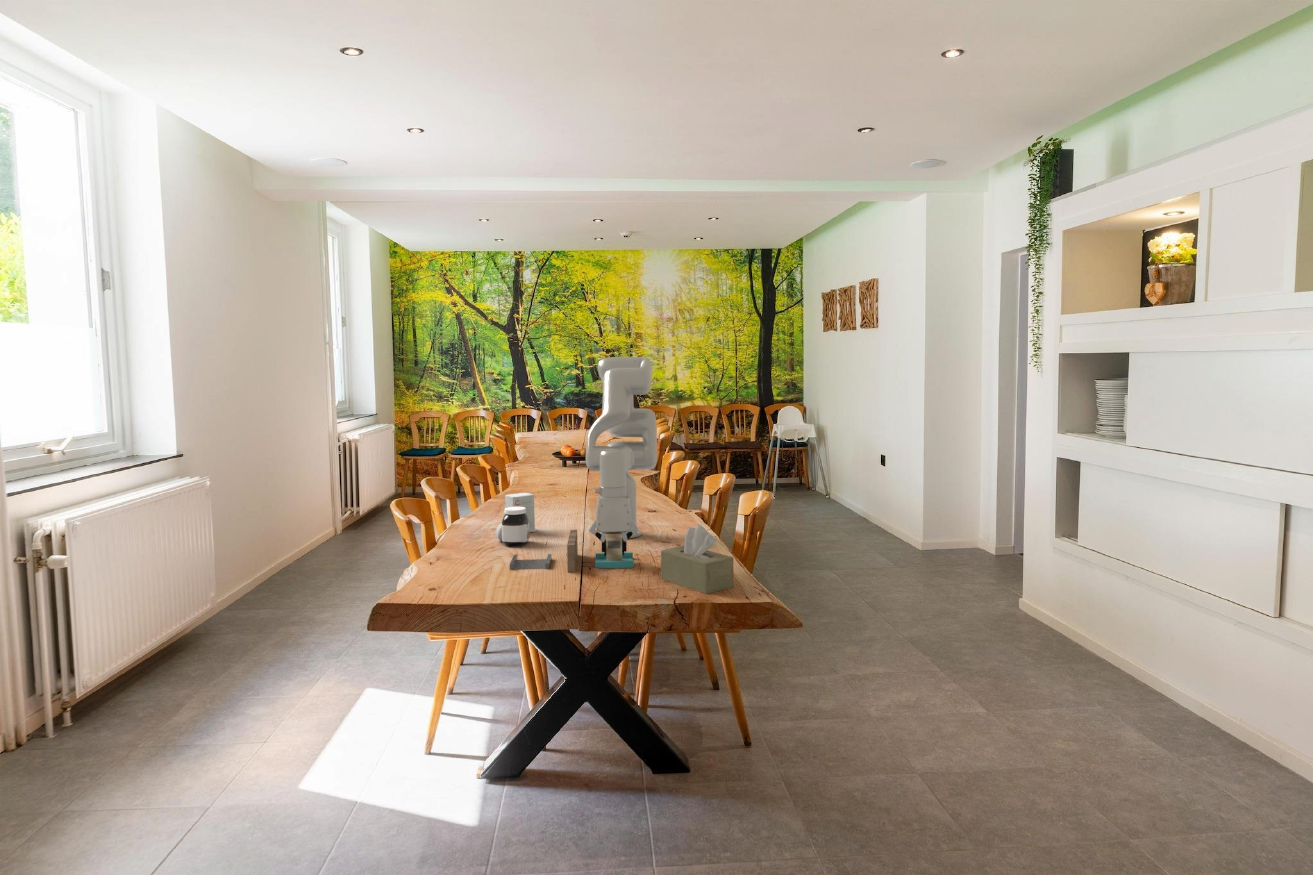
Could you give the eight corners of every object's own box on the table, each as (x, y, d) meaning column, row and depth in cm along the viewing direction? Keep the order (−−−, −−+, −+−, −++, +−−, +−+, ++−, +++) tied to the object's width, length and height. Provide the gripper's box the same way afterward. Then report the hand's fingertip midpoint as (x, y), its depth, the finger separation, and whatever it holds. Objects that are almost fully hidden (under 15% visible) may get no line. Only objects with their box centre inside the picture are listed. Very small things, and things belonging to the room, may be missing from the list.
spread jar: (522, 548, 257) (521, 511, 256) (488, 547, 259) (487, 510, 258) (534, 539, 269) (533, 504, 267) (501, 538, 270) (500, 504, 269)
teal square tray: (595, 568, 231) (594, 562, 231) (595, 558, 242) (595, 552, 242) (633, 567, 231) (633, 561, 231) (632, 558, 242) (632, 552, 242)
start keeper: (514, 560, 240) (514, 554, 240) (551, 559, 241) (551, 554, 241) (509, 570, 230) (509, 564, 229) (548, 569, 230) (548, 563, 230)
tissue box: (734, 587, 211) (734, 527, 209) (706, 594, 205) (706, 533, 203) (687, 573, 226) (687, 516, 224) (660, 579, 220) (659, 521, 218)
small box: (526, 528, 285) (525, 492, 284) (535, 531, 280) (534, 494, 279) (505, 531, 281) (504, 494, 279) (514, 535, 276) (513, 497, 274)
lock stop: (606, 562, 233) (606, 534, 232) (606, 556, 239) (606, 529, 239) (622, 561, 233) (621, 534, 232) (621, 556, 240) (621, 529, 239)
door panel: (571, 555, 246) (570, 529, 245) (577, 555, 246) (577, 529, 245) (567, 573, 226) (567, 545, 225) (574, 573, 226) (574, 544, 225)
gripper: (583, 495, 230) (584, 558, 232) (643, 493, 231) (643, 556, 233) (584, 490, 238) (585, 551, 240) (642, 489, 239) (642, 550, 241)
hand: (614, 553), depth 236 cm, fingers closed on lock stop, 4 cm apart
